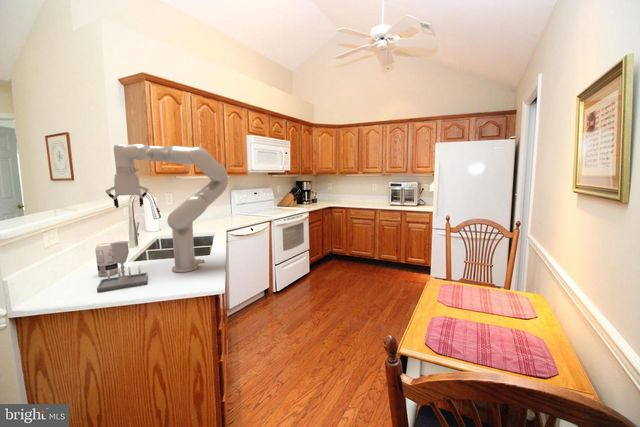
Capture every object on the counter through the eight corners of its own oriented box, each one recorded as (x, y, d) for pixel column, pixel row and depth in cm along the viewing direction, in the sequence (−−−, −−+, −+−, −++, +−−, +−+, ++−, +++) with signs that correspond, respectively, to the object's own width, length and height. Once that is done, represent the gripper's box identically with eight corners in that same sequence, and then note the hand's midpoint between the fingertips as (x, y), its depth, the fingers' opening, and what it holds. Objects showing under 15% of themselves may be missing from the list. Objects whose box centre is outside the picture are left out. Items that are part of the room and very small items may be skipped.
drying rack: (147, 276, 143) (146, 264, 142) (146, 284, 133) (145, 271, 132) (101, 283, 135) (100, 270, 134) (97, 292, 124) (95, 279, 123)
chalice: (121, 279, 137) (116, 241, 134) (136, 278, 138) (132, 240, 135) (111, 285, 130) (106, 245, 127) (127, 284, 130) (122, 244, 128)
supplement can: (101, 272, 149) (97, 243, 147) (120, 270, 153) (117, 241, 151) (96, 278, 142) (92, 247, 140) (116, 275, 145) (113, 245, 143)
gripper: (146, 170, 148) (150, 205, 150) (104, 171, 140) (108, 207, 142) (146, 170, 141) (149, 206, 144) (102, 171, 133) (106, 209, 136)
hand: (129, 207), depth 143 cm, fingers open, 9 cm apart
